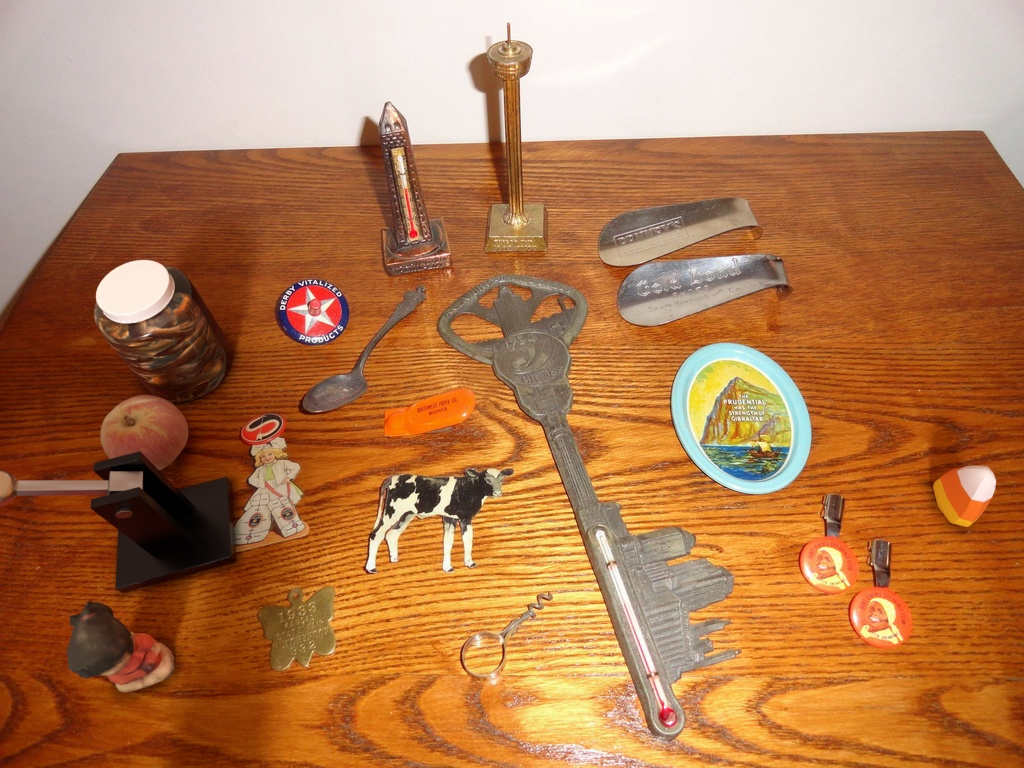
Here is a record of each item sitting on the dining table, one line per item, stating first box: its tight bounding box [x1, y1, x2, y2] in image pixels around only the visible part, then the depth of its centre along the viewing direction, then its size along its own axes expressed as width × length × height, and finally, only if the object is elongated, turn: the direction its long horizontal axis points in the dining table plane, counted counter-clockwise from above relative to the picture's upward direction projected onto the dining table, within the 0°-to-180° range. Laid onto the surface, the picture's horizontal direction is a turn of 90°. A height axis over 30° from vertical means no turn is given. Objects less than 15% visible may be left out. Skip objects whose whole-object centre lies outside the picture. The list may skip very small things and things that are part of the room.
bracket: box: [90, 451, 237, 594], centre depth 71 cm, size 12×10×14 cm
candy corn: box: [932, 465, 997, 528], centre depth 72 cm, size 6×3×8 cm, turn 5°
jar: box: [93, 259, 234, 403], centre depth 84 cm, size 12×12×15 cm
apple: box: [100, 394, 189, 471], centre depth 80 cm, size 9×9×8 cm
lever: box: [0, 469, 143, 507], centre depth 64 cm, size 13×3×3 cm, turn 106°
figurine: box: [66, 600, 176, 693], centre depth 64 cm, size 6×6×12 cm
